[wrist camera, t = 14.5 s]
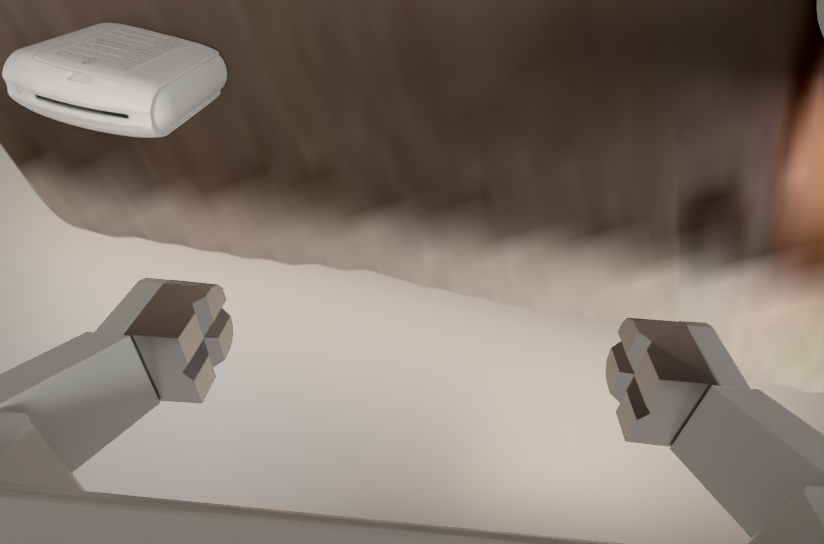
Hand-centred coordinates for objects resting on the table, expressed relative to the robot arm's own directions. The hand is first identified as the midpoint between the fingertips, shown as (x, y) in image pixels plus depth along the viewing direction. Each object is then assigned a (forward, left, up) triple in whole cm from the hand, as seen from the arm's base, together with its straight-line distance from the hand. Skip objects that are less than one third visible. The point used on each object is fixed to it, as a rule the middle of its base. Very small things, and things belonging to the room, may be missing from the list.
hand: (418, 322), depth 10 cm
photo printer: (+23, +4, -33) cm, 41 cm away
